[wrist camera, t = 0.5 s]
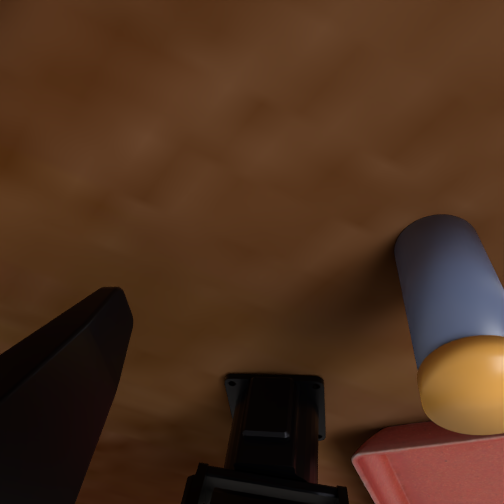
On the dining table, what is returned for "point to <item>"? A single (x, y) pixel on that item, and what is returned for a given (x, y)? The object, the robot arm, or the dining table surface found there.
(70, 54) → the dining table surface
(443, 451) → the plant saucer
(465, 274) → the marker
